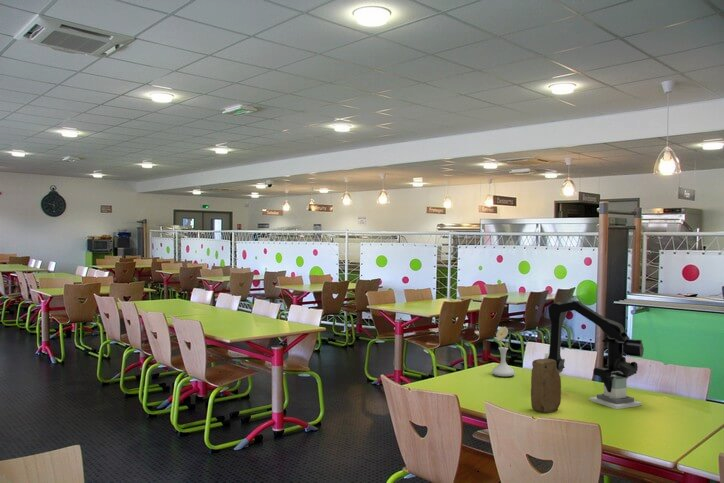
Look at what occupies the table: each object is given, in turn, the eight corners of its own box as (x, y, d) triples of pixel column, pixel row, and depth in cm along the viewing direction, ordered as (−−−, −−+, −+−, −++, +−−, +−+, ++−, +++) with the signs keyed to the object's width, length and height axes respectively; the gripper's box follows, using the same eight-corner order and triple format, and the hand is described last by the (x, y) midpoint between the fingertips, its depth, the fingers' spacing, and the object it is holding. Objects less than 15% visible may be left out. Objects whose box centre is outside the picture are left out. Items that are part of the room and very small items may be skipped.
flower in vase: (489, 372, 283) (489, 323, 284) (512, 373, 283) (512, 324, 283) (494, 378, 270) (495, 327, 271) (518, 379, 270) (518, 327, 270)
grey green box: (615, 399, 226) (615, 379, 226) (603, 395, 231) (603, 376, 231) (626, 397, 228) (626, 378, 228) (614, 393, 234) (614, 374, 234)
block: (541, 414, 213) (541, 362, 213) (528, 409, 220) (528, 358, 220) (563, 411, 217) (563, 360, 217) (550, 406, 224) (550, 356, 224)
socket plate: (616, 409, 220) (616, 402, 220) (589, 400, 233) (589, 393, 233) (641, 405, 226) (641, 398, 226) (613, 396, 239) (613, 390, 239)
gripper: (614, 359, 219) (614, 398, 218) (648, 355, 226) (647, 394, 226) (592, 354, 229) (592, 392, 229) (625, 350, 236) (625, 387, 236)
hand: (615, 391), depth 230 cm, fingers closed on grey green box, 6 cm apart
